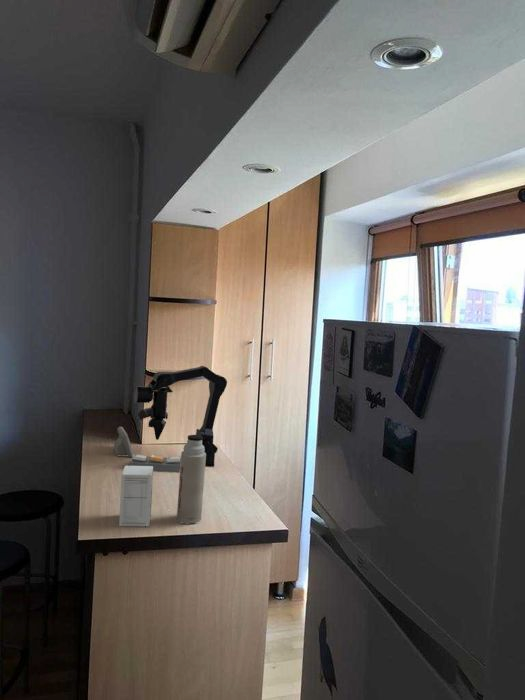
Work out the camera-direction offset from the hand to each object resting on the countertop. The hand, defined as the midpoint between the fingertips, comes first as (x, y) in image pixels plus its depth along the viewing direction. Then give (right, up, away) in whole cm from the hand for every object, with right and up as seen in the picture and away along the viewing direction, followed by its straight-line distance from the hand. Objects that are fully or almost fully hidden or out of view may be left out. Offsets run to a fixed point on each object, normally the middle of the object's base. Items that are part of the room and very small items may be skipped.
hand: (157, 439), depth 230 cm
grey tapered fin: (-18, -9, +18) cm, 27 cm away
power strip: (-1, -12, +2) cm, 12 cm away
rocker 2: (+7, -9, 0) cm, 11 cm away
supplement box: (+3, -18, -53) cm, 56 cm away
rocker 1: (-7, -8, -2) cm, 10 cm away
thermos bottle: (+20, -19, -49) cm, 56 cm away
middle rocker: (0, -8, -1) cm, 8 cm away
